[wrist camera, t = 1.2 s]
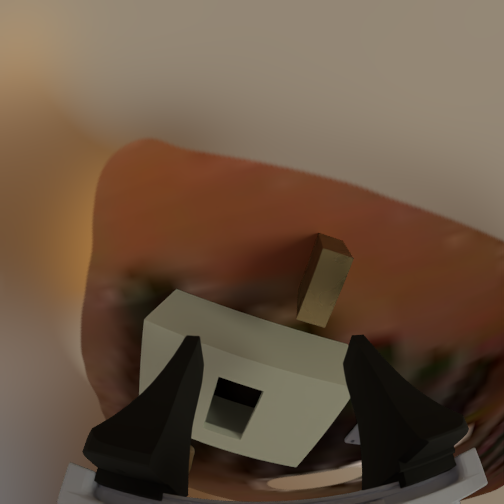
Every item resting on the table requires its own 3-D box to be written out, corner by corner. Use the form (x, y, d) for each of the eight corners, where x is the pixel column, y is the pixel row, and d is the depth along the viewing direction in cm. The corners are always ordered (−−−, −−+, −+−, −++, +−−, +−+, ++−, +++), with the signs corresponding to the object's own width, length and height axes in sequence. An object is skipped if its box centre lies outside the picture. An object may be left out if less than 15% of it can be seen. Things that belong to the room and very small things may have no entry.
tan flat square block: (342, 240, 21) (353, 258, 16) (320, 297, 23) (324, 327, 18) (318, 232, 21) (323, 248, 17) (297, 290, 23) (296, 319, 18)
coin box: (347, 344, 23) (356, 387, 18) (299, 425, 27) (295, 467, 21) (176, 289, 25) (144, 319, 19) (162, 380, 28) (138, 415, 22)
